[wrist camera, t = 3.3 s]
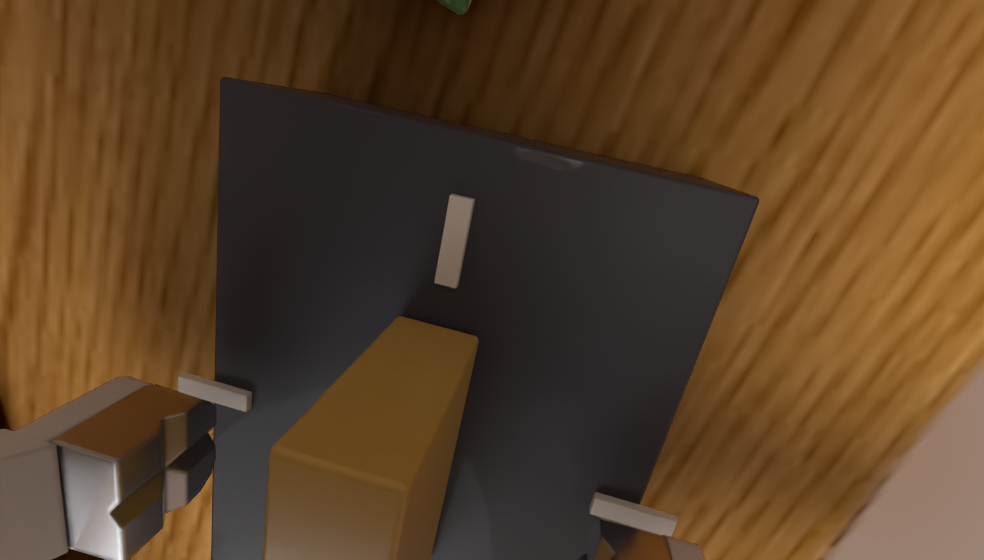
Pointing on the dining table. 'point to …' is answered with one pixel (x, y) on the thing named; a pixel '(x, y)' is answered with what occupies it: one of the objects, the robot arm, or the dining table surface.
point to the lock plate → (460, 306)
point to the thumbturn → (372, 452)
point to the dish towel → (456, 5)
